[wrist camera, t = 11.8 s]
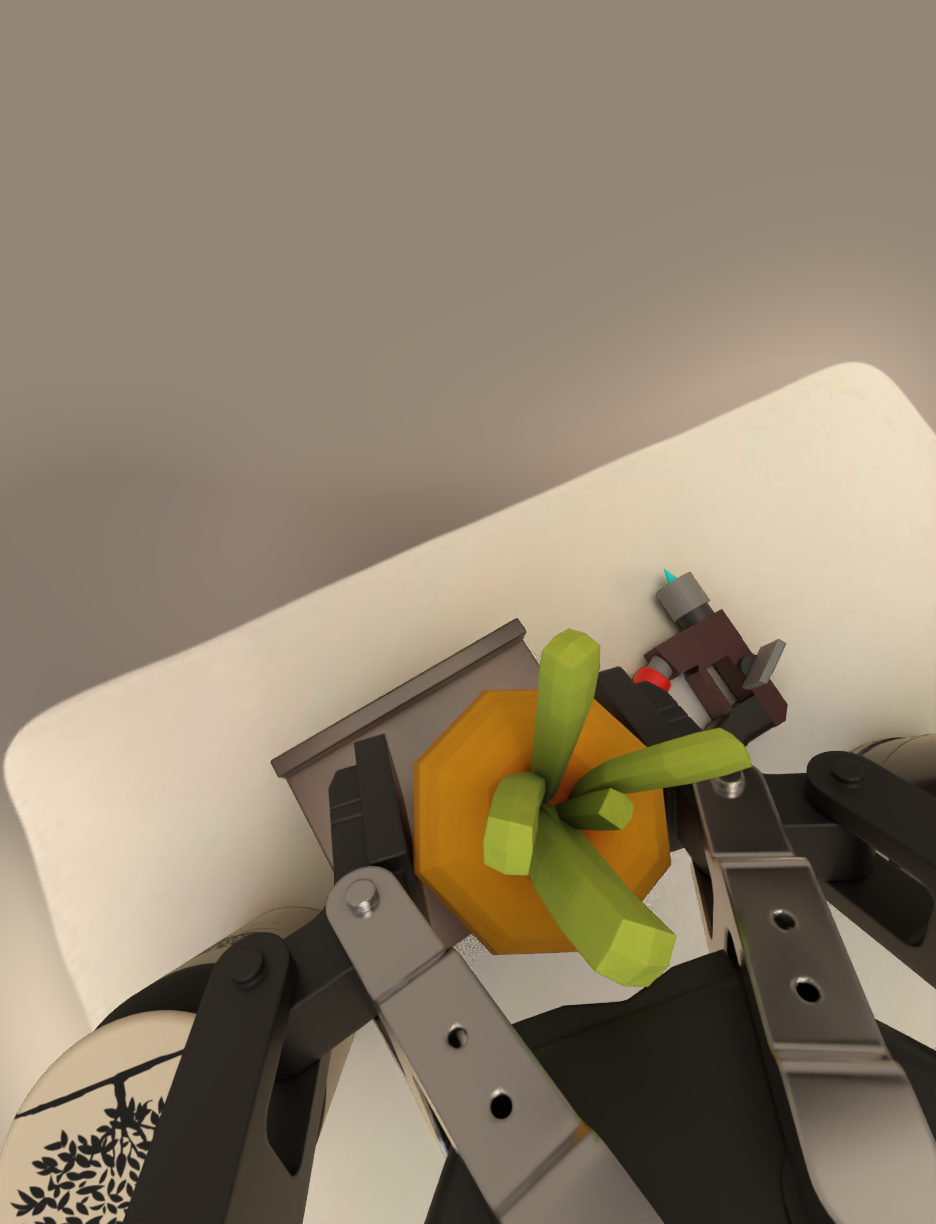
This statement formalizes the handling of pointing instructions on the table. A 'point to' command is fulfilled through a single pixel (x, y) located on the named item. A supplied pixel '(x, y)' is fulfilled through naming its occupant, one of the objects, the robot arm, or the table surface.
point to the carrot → (556, 818)
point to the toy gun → (716, 663)
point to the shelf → (408, 735)
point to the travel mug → (116, 1097)
